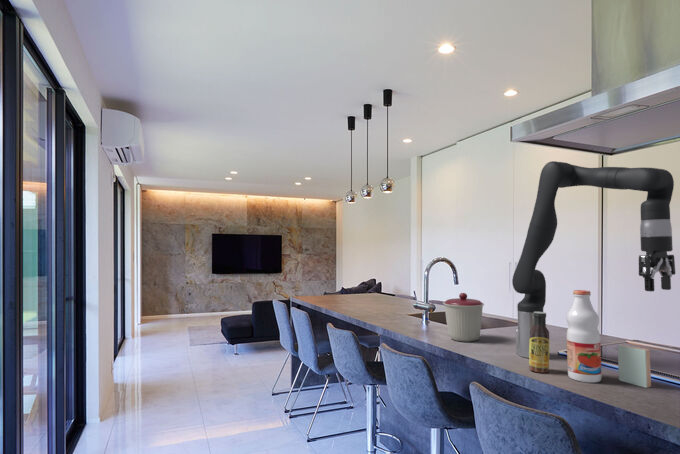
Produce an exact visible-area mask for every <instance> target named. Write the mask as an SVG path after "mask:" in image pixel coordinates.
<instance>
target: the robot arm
mask: <svg viewBox="0 0 680 454" xmlns="http://www.w3.org/2000/svg"><path fill="white" fill-rule="evenodd" d="M539 175H540V176H539V182H538V186H537V187H538V188H537V194H536V199H535V203H534V207H533V211H532V216H531V219H530V222H529V226H528V228H527V231H526V237H525V241H524V244H523V248H522V251H521V253H520V257H519V259H518V262H517V264H516V267H515V268H514V273H513V275H512V281H511V282H512V287H513V289H514V291H515V292H516V293H519V294H521V295H523V294H524V296H523V299H521V300H520V301H519V302H518V303H517V304H516V305H517V306H516V307H517V308H516V309H517V310H516V311H517V328H516V329H515V344H516V345H515V346H516V347H515V348H516V349H515V351H516V353H515V354H517V355H518V356H520V357H522V358H526V359H527V358H528V359H529V339H530V330H531V328H532V326H533V325H534V324H533V323H534V316H533V312H544V307H545V305H546V299H547V297H546V295H547V293H546V292H547V282H546V277H545V275H544V274H543V272H542V271H541V270H539V269H536V267H537V265H538V263H539V261H540V258H542V256H543V255H544V254H545V253H546V251H547V250H548V249H549V248H550V246H551V244H552V243H553V241H554V238H555V235H556V231H557V229H558V218H557V217H558V216H557V212H556V206H555V205H556V204H555V202H556V197H557V193H558V190H559V188H561V189H563V188H571V187H581V186H584V187H585V186H586V187H596V188H601V189H610V190H620V191H621V190H631V191H638V192H639V191H641V192H647V195H646V200H645V201H643V202H641V204H640V226H639V232H640V233H639V234H640V235H639V237H640V251H642V252H645V255H643V254H641V255H639V256H638V276H640V277H642V278H643V279H644V290H645V292H655V275H656V273H659V274H660V284H661V285H660V287H661V288H660V289H661V290H664V291H670V290H671V289H672V282H671V278H672V277H673V275H676V265H675V264H676V262H675V255H674V254H668V252H672V251H673V228H672V227H673V226H672V223H671V210H670V209H671V207H670V205H671V200H672V197H673V193H674V186H675V181H674V177H673V174H671V172H670V171H668V170H667V169H663V168H656V167H624V166H602V167H586V166H585V167H584V166H579V165H575V164H571V163H568V162H563V161H556V160H555V161H549V162H547V163H545V165H544V166H543V168H542V169H541V171H540V174H539Z"/></svg>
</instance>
